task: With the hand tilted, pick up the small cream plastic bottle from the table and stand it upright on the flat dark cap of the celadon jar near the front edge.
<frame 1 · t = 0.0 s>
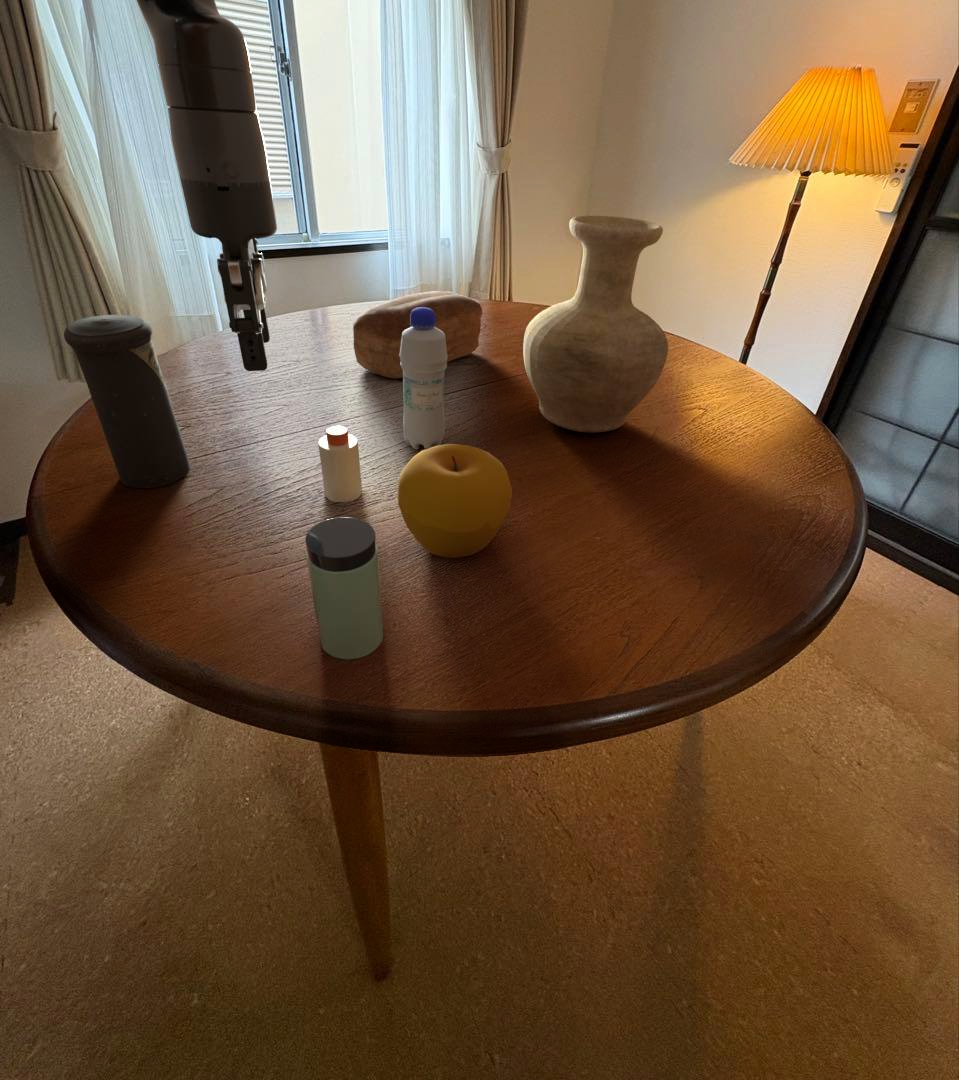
hand: (258, 355, 60), 19 cm above the table, tool pointing down, fingers open, 8 cm apart
cream bottle: (343, 492, 74), on the table
apple: (453, 541, 67), on the table
celadon jar: (352, 635, 54), on the table
container: (156, 474, 75), on the table
bottle: (424, 444, 86), on the table
bread: (421, 361, 115), on the table
vase: (580, 422, 96), on the table
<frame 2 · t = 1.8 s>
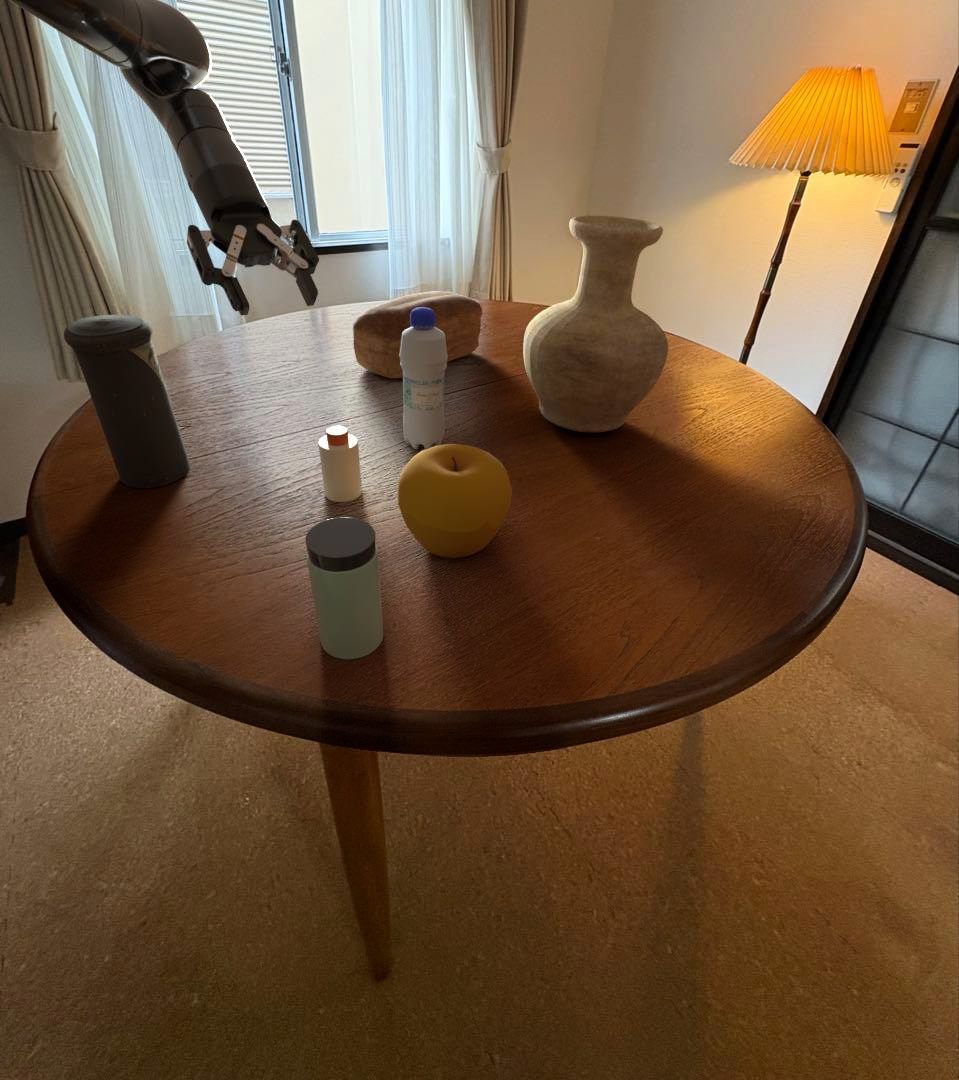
hand: (280, 306, 68), 21 cm above the table, tool tilted 45°, fingers open, 8 cm apart
nothing on the table moved.
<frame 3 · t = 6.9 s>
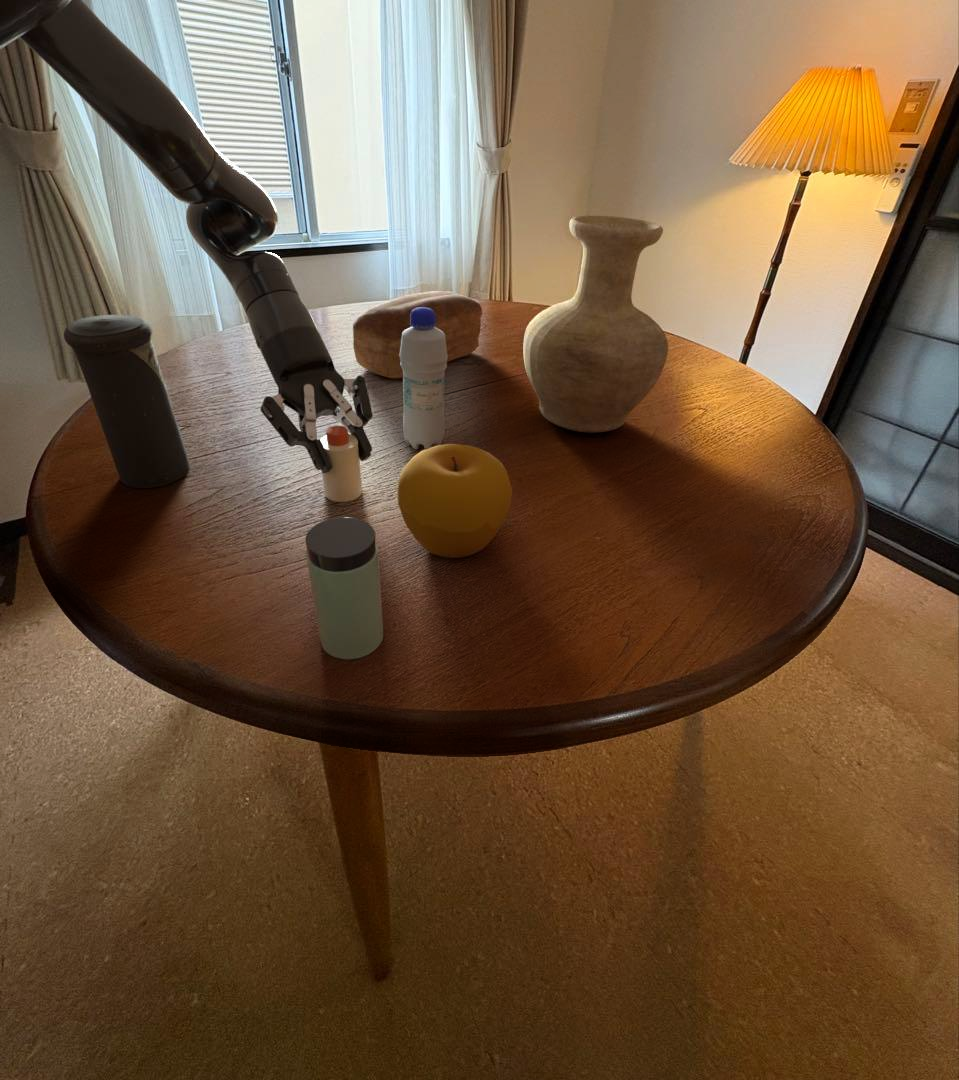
hand: (347, 463, 70), 5 cm above the table, tool tilted 45°, fingers closed on cream bottle, 4 cm apart
cream bottle: (343, 492, 74), on the table, touching gripper
everything else where it was.
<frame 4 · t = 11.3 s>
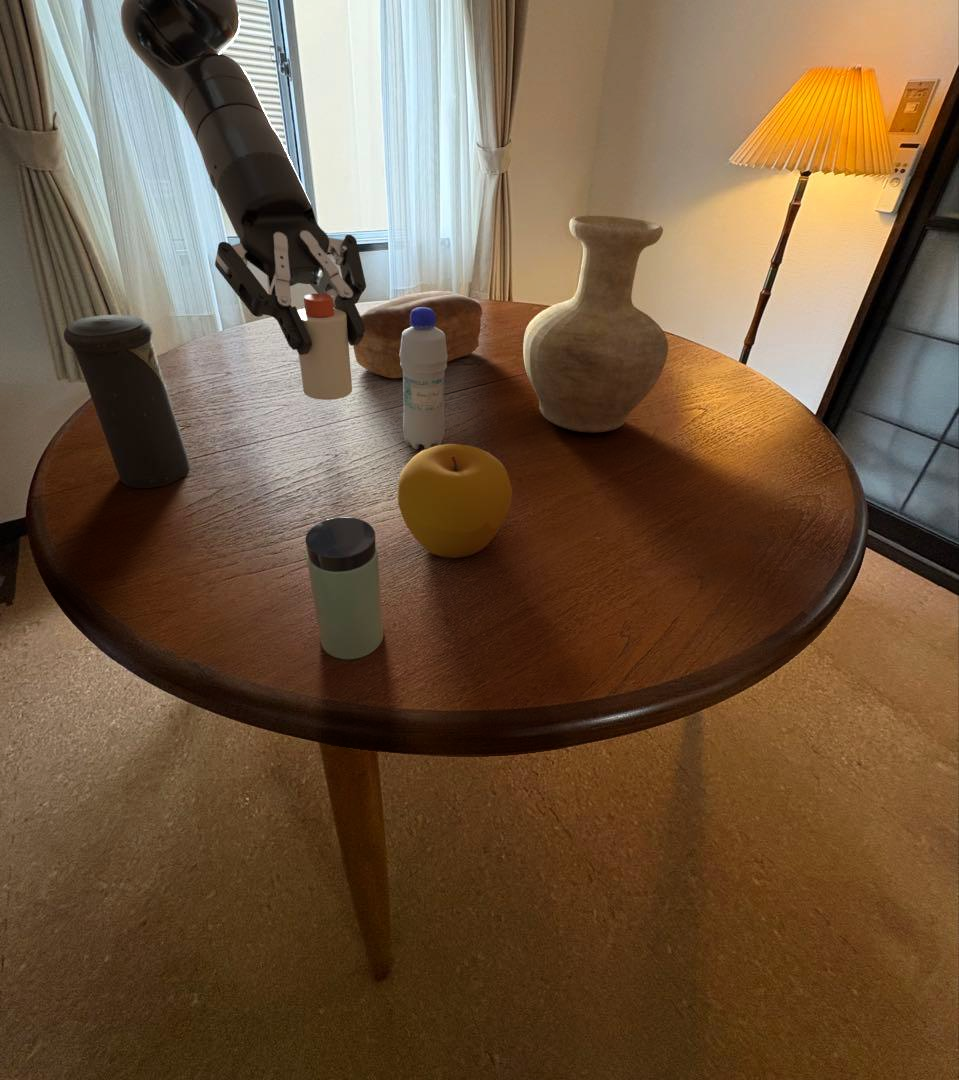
hand: (332, 344, 53), 23 cm above the table, tool tilted 45°, fingers closed on cream bottle, 4 cm apart
cream bottle: (328, 390, 57), point 18 cm above the table, touching gripper
everything else where it was.
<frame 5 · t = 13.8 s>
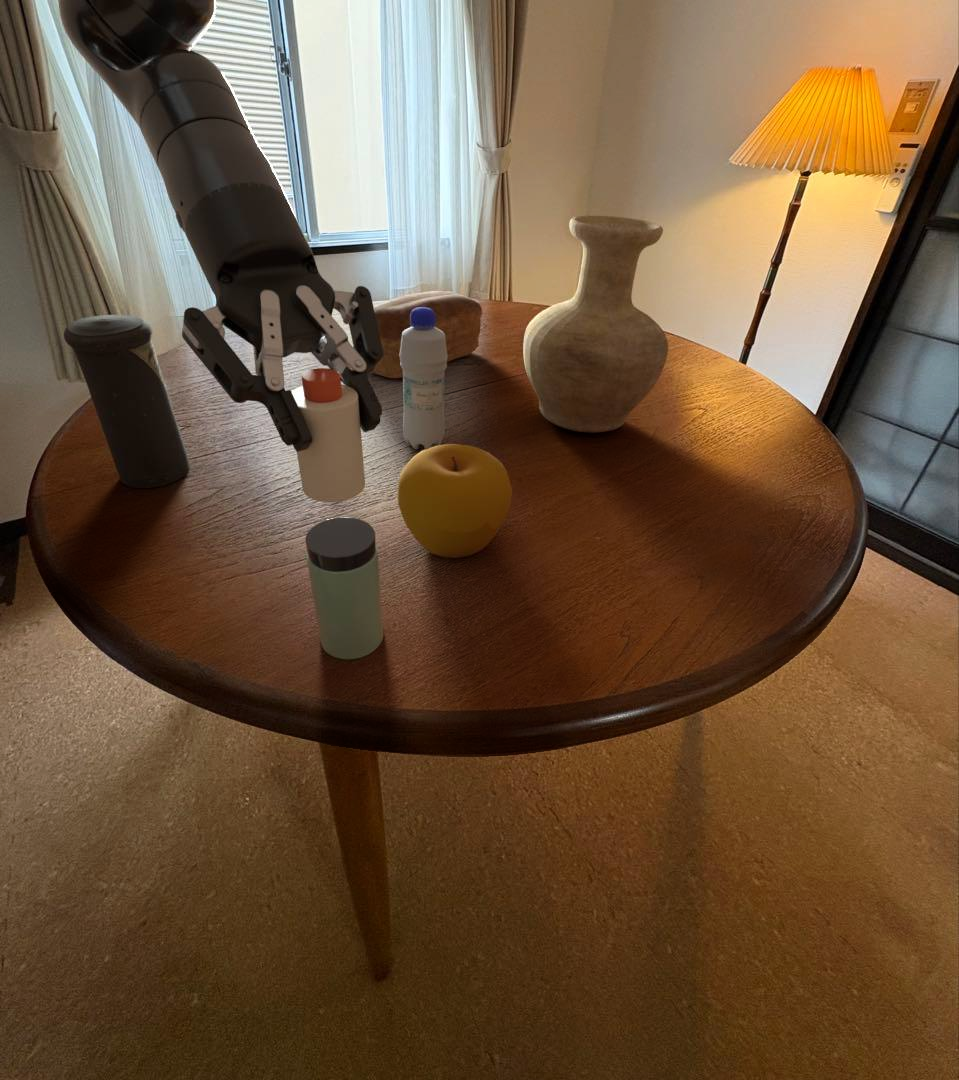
hand: (340, 435, 40), 22 cm above the table, tool tilted 45°, fingers closed on cream bottle, 4 cm apart
cream bottle: (334, 485, 44), point 17 cm above the table, touching gripper
everything else where it was.
when the fingers open (17 cm above the table, at t = 15.7 s): cream bottle stays where it is, resting on celadon jar.
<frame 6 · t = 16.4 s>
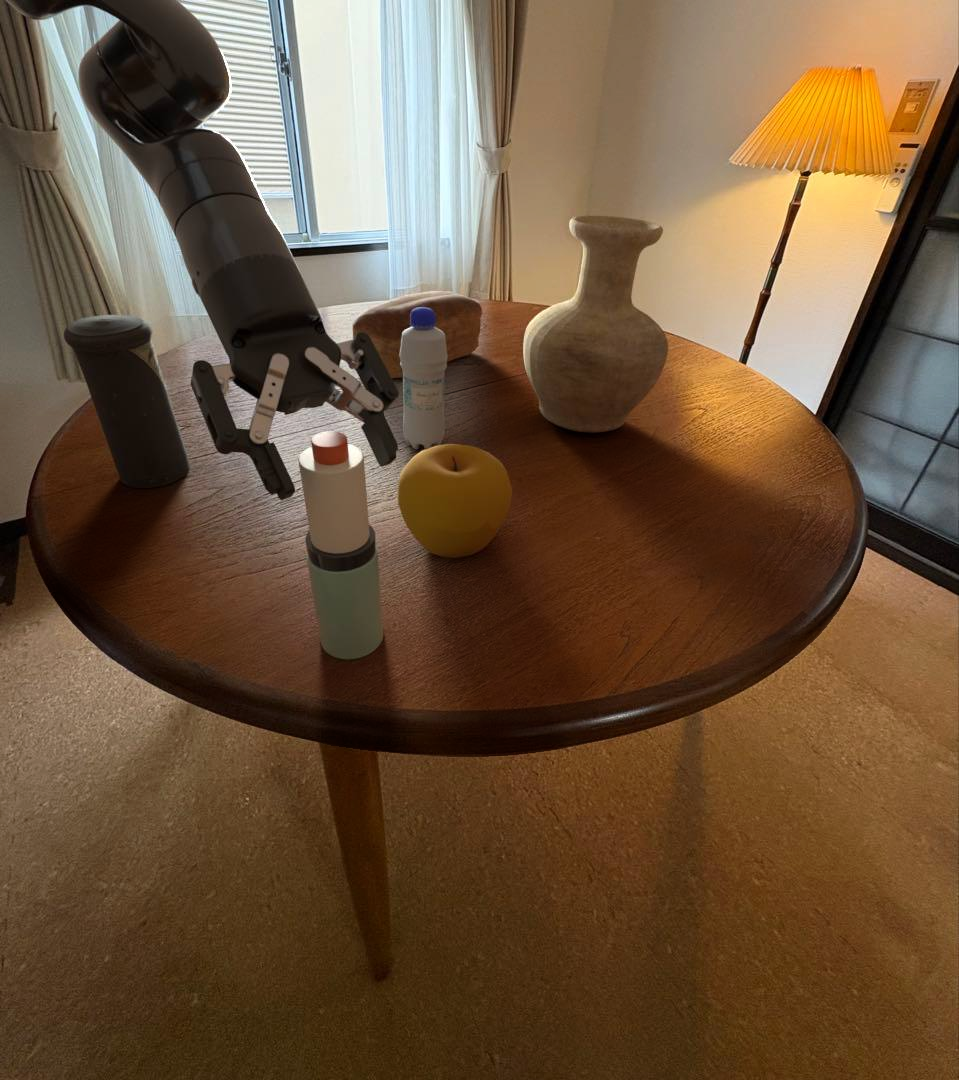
hand: (341, 478, 42), 18 cm above the table, tool tilted 45°, fingers open, 8 cm apart
cream bottle: (340, 536, 47), point 12 cm above the table, touching celadon jar
celadon jar: (352, 635, 54), on the table, touching cream bottle
everything else where it was.
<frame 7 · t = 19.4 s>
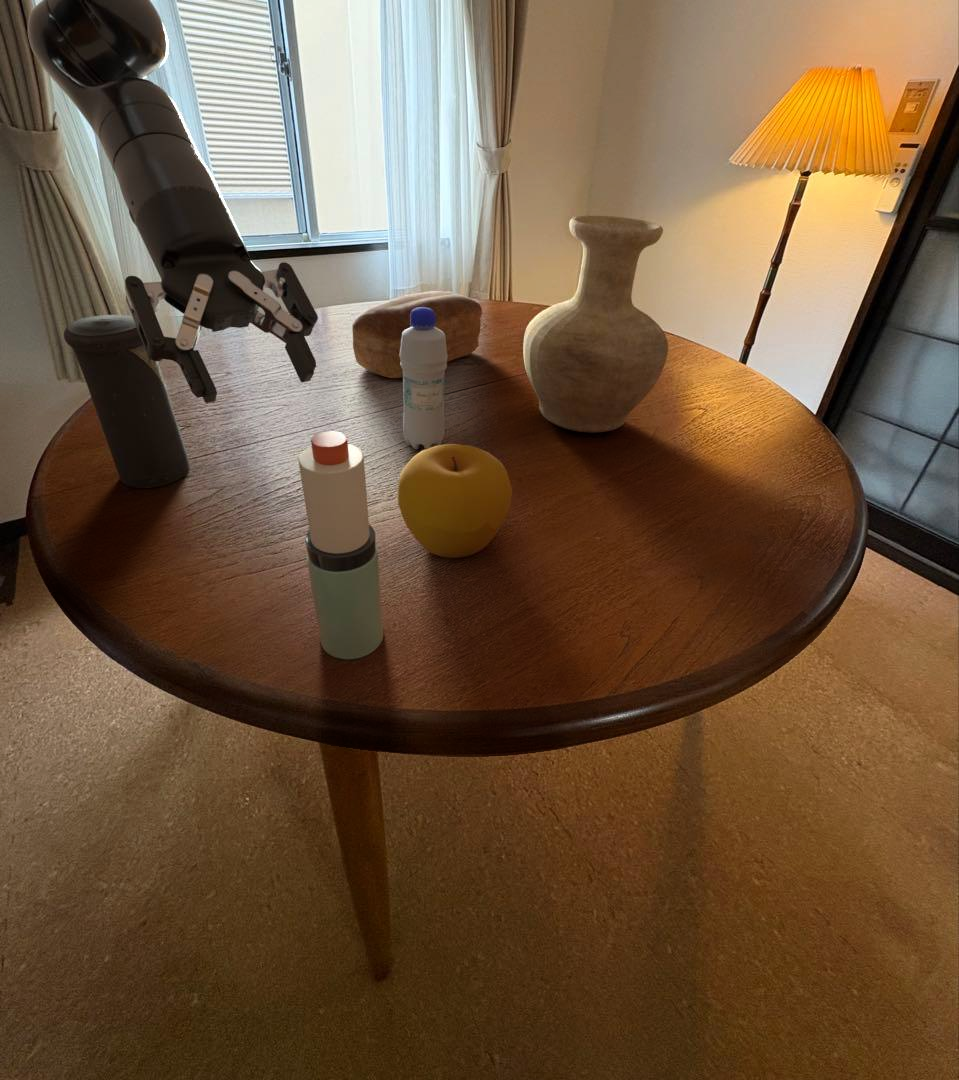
hand: (262, 387, 48), 21 cm above the table, tool tilted 45°, fingers open, 8 cm apart
nothing on the table moved.
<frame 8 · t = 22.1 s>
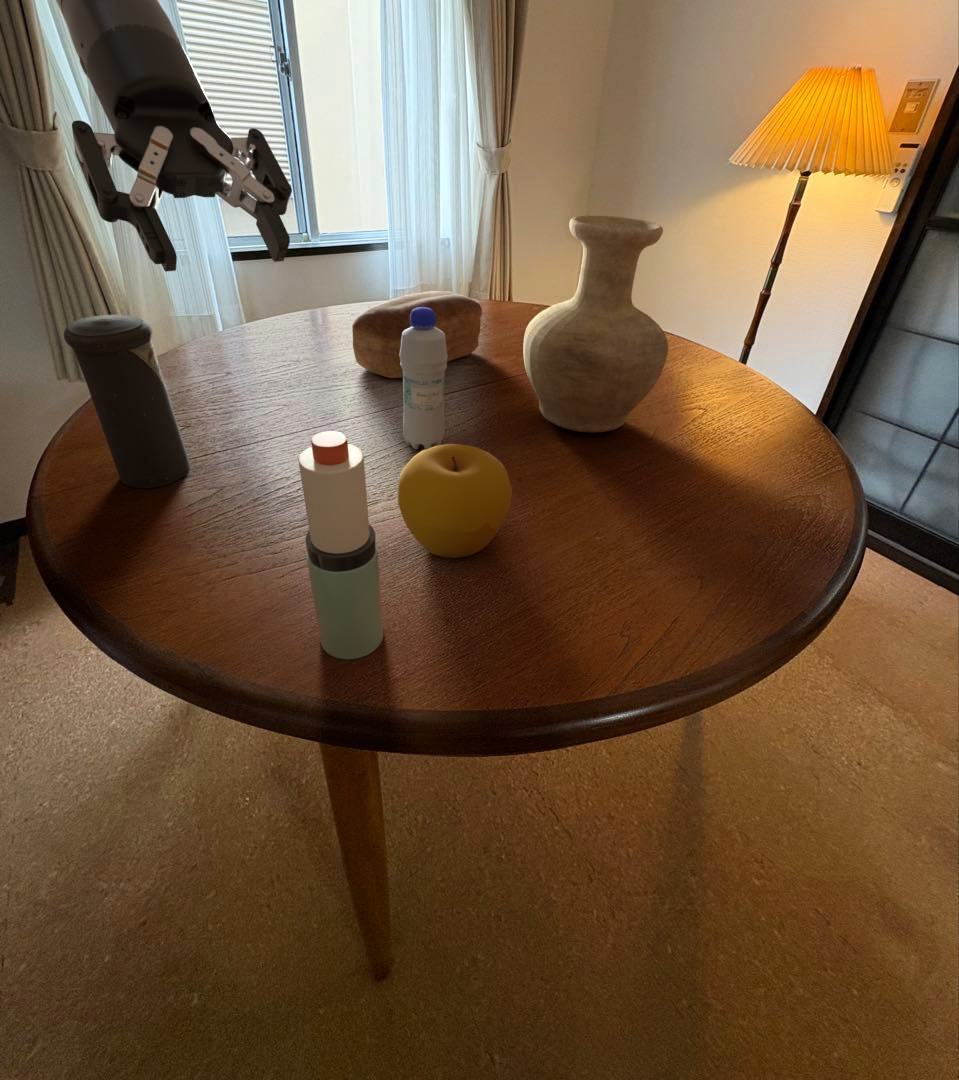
hand: (229, 259, 44), 31 cm above the table, tool tilted 45°, fingers open, 8 cm apart
nothing on the table moved.
at the end: cream bottle 0.0 cm off-centre on the celadon jar, point 12.0 cm above the celadon jar's base; cream bottle tilted 0°; the gripper is holding nothing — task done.
